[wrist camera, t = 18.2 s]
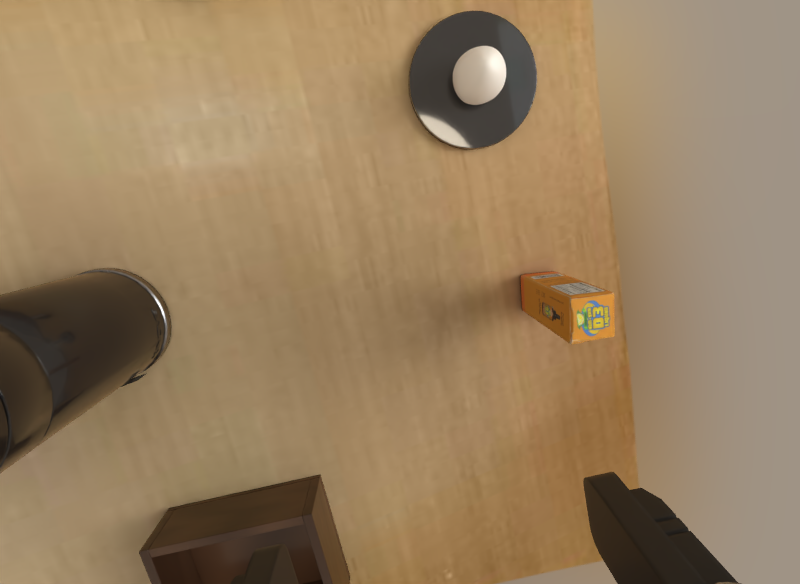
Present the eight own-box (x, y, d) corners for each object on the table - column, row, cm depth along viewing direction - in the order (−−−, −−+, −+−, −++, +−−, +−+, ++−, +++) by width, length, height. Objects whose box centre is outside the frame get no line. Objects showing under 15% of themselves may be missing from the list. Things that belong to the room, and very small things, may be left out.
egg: (503, 100, 36) (524, 83, 30) (456, 114, 36) (469, 99, 31) (491, 50, 35) (511, 23, 30) (444, 64, 35) (455, 40, 30)
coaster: (403, 142, 37) (403, 141, 36) (415, 6, 35) (416, 3, 34) (524, 155, 37) (526, 154, 37) (544, 21, 35) (546, 18, 35)
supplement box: (559, 306, 40) (616, 341, 30) (521, 310, 40) (565, 347, 30) (558, 268, 39) (616, 292, 30) (519, 272, 39) (564, 298, 30)
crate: (206, 608, 45) (183, 663, 40) (168, 508, 43) (138, 552, 37) (350, 577, 45) (345, 627, 40) (320, 474, 43) (311, 513, 37)
